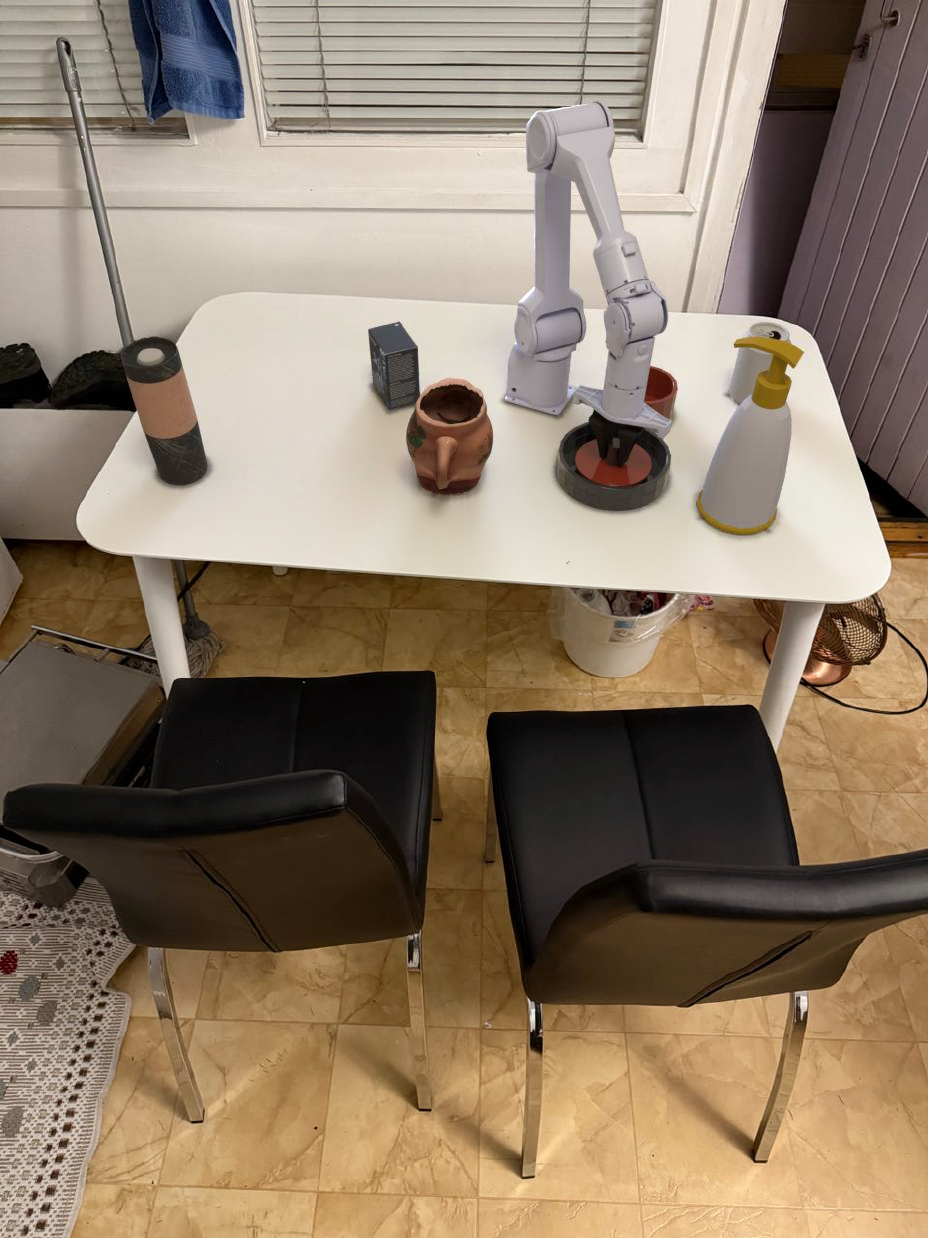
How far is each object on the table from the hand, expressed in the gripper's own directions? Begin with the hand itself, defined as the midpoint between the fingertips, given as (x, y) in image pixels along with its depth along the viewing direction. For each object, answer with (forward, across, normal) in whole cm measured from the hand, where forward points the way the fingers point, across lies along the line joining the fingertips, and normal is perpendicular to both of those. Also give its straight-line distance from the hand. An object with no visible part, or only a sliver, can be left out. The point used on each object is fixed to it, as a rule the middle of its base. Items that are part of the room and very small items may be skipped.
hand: (613, 458), depth 134 cm
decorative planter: (+3, +18, +16) cm, 24 cm away
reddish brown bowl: (+3, +4, -16) cm, 17 cm away
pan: (+3, 0, 0) cm, 3 cm away
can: (+3, -9, -30) cm, 32 cm away
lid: (+1, 0, 0) cm, 1 cm away
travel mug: (+3, +52, +36) cm, 64 cm away
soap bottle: (+3, -18, -4) cm, 19 cm away
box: (+3, +39, +3) cm, 39 cm away
